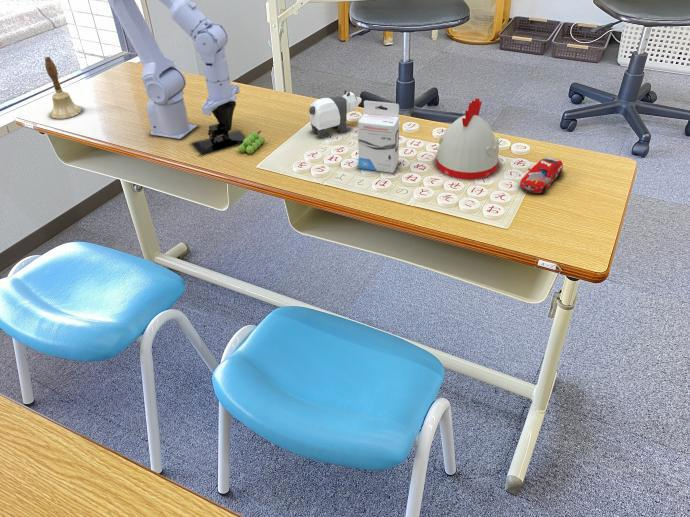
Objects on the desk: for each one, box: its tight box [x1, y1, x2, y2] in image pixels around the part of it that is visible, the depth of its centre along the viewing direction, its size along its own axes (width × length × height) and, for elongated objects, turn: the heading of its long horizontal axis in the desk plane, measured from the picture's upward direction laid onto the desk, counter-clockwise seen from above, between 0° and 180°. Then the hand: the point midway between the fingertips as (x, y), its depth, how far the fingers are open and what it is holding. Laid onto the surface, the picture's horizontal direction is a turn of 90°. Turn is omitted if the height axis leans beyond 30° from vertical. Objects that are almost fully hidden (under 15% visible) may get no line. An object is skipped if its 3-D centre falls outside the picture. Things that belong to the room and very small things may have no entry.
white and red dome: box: [435, 98, 500, 180], centre depth 131 cm, size 14×14×15 cm
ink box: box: [357, 100, 401, 174], centre depth 132 cm, size 8×5×15 cm, turn 72°
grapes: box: [237, 130, 265, 155], centre depth 146 cm, size 4×9×3 cm, turn 159°
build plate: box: [191, 122, 246, 156], centre depth 148 cm, size 12×7×5 cm, turn 120°
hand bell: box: [44, 56, 82, 120], centre depth 163 cm, size 8×8×16 cm
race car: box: [519, 156, 564, 194], centre depth 127 cm, size 13×5×4 cm, turn 139°
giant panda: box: [308, 89, 363, 139], centre depth 150 cm, size 15×6×10 cm, turn 119°
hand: (226, 130), depth 150 cm, fingers closed
